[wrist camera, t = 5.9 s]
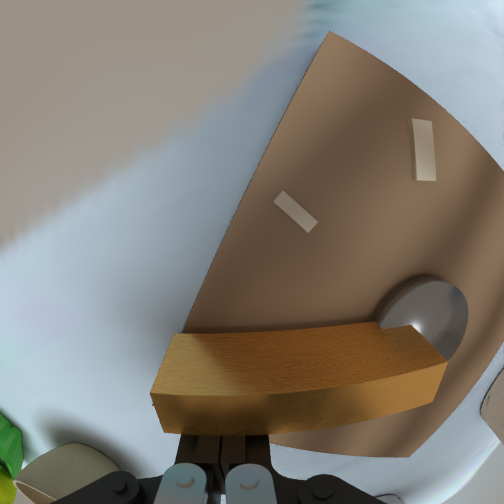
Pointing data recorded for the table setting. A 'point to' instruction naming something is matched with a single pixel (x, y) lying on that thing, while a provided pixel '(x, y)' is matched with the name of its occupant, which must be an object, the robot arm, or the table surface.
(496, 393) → the teacup with lid
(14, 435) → the fruit basket
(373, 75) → the sundial board
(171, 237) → the table surface
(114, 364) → the table surface
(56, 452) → the bowl
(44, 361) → the table surface
